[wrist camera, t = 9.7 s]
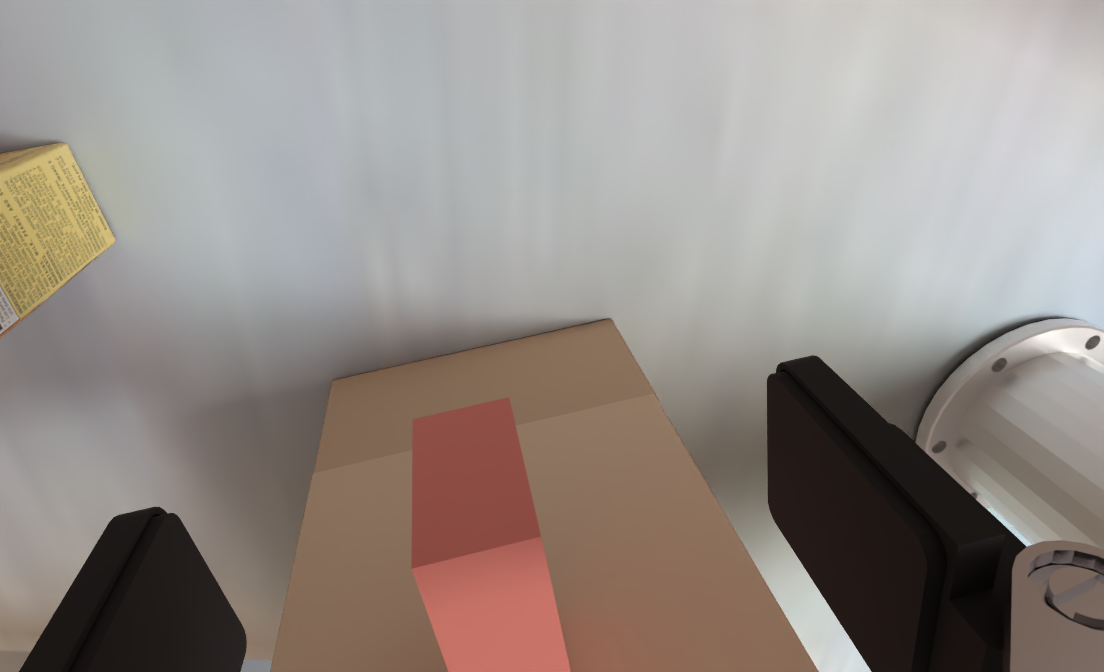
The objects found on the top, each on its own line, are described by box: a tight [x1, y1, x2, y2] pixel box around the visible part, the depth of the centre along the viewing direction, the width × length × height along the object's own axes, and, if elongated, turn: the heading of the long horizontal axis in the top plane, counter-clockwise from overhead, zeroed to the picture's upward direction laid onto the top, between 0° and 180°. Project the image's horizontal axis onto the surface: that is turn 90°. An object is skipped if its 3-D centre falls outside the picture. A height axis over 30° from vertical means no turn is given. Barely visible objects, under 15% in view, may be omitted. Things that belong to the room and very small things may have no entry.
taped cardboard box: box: [270, 394, 818, 672], centre depth 17 cm, size 12×12×7 cm
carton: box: [314, 319, 660, 473], centre depth 31 cm, size 13×13×7 cm
